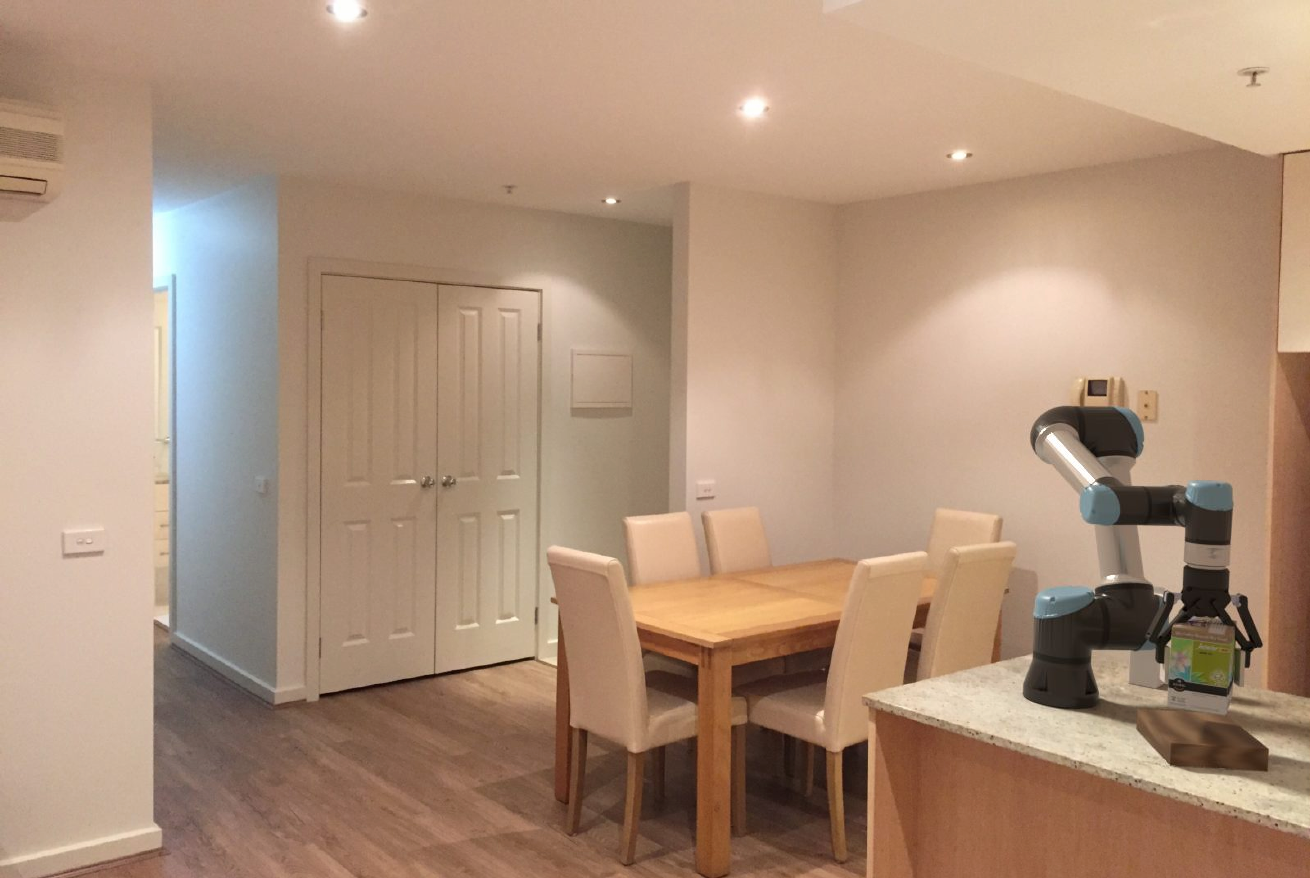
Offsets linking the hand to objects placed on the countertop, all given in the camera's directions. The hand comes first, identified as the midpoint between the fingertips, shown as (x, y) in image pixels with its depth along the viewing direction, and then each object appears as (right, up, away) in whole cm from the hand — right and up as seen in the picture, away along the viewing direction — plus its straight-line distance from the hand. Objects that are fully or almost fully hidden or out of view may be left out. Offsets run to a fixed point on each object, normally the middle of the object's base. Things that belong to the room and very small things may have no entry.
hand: (1201, 683), depth 198 cm
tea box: (0, -4, 0) cm, 4 cm away
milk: (+10, -10, +45) cm, 47 cm away
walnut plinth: (0, -12, +1) cm, 12 cm away
